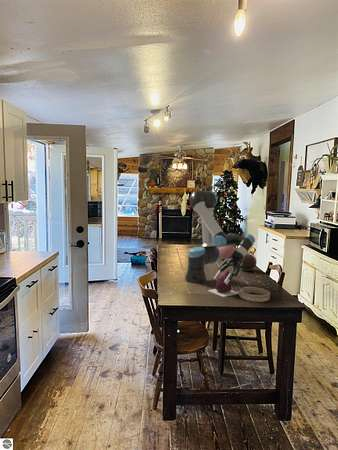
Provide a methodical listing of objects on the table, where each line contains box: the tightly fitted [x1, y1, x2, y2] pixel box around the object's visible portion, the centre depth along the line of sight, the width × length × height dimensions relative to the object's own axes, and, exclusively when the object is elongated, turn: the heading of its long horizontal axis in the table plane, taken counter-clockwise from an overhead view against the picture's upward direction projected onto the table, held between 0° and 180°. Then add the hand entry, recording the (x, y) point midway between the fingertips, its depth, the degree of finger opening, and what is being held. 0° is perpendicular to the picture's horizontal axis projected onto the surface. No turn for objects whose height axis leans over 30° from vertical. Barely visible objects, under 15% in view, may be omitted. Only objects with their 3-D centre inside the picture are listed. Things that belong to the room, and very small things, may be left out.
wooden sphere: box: [240, 252, 257, 272], centre depth 277 cm, size 15×15×15 cm
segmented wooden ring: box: [238, 286, 271, 303], centre depth 209 cm, size 18×18×4 cm
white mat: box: [207, 288, 239, 298], centre depth 216 cm, size 14×14×1 cm
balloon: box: [217, 246, 237, 261], centre depth 319 cm, size 15×20×15 cm
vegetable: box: [214, 269, 232, 292], centre depth 215 cm, size 10×10×15 cm
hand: (220, 281), depth 213 cm, fingers closed on vegetable, 8 cm apart
